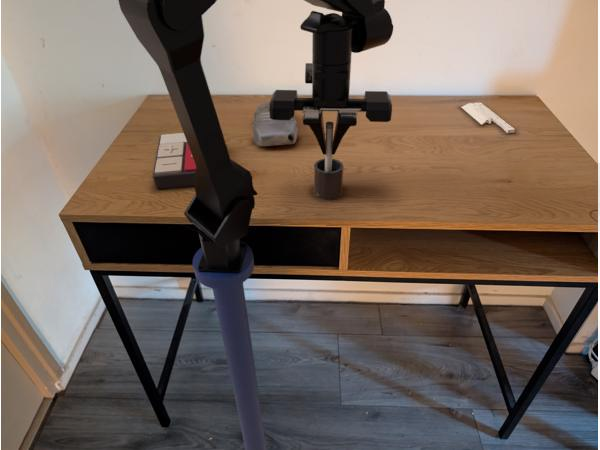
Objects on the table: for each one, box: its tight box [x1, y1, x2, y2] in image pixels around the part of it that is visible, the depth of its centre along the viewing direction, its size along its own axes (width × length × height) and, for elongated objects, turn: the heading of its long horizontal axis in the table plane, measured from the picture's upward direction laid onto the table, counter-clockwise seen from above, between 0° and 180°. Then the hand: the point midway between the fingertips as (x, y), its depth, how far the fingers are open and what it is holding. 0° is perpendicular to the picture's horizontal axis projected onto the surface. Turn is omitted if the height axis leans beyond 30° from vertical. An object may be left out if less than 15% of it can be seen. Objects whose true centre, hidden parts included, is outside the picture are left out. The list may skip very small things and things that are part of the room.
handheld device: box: [252, 101, 299, 147], centre depth 97 cm, size 10×20×5 cm, turn 8°
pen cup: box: [313, 158, 345, 201], centre depth 77 cm, size 5×5×6 cm
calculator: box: [152, 132, 196, 190], centre depth 85 cm, size 11×4×15 cm
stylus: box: [324, 121, 335, 172], centre depth 73 cm, size 1×1×11 cm
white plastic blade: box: [461, 101, 516, 134], centre depth 100 cm, size 5×15×1 cm, turn 10°
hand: (328, 153), depth 73 cm, fingers closed on stylus, 1 cm apart
